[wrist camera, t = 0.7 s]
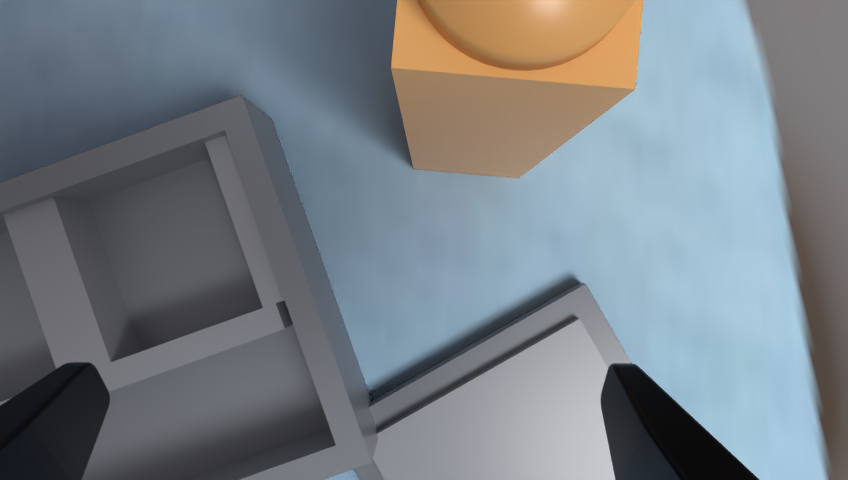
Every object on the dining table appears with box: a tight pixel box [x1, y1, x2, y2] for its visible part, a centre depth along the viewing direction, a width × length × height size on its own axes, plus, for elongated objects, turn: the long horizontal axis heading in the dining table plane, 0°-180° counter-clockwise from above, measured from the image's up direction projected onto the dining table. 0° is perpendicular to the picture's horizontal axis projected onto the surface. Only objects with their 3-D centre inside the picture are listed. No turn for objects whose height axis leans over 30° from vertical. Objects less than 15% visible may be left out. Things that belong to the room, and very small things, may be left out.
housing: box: [0, 95, 378, 480], centre depth 20 cm, size 14×18×4 cm
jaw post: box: [391, 0, 643, 178], centre depth 15 cm, size 4×4×13 cm
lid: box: [354, 283, 631, 480], centre depth 21 cm, size 10×12×1 cm
